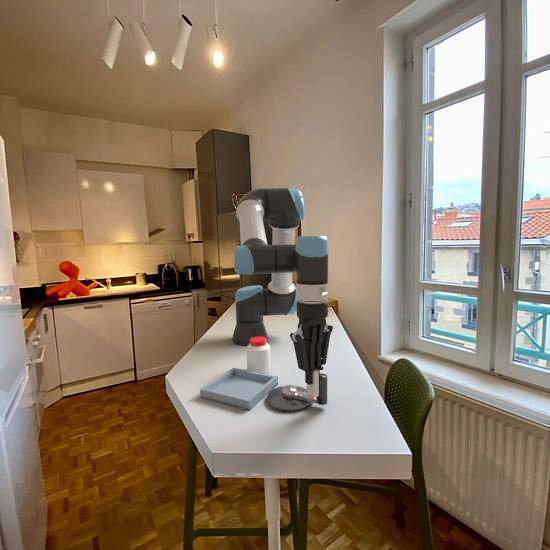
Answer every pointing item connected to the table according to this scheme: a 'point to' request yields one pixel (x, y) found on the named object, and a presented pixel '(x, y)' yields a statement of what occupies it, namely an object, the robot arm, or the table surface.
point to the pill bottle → (258, 355)
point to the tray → (239, 388)
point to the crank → (292, 392)
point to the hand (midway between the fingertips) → (312, 394)
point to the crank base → (286, 401)
